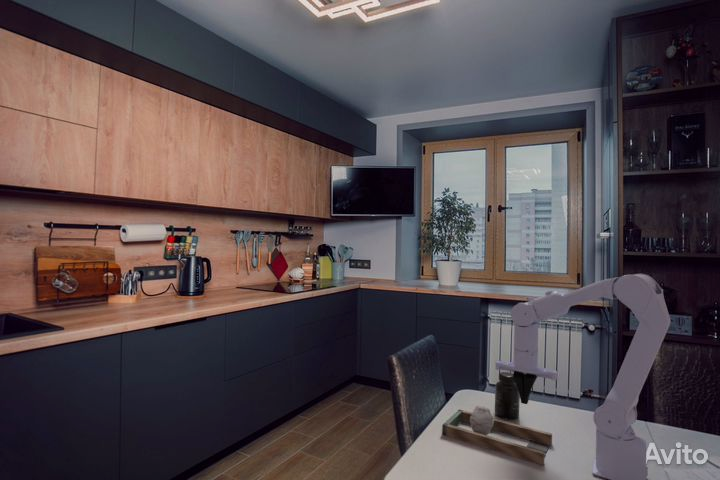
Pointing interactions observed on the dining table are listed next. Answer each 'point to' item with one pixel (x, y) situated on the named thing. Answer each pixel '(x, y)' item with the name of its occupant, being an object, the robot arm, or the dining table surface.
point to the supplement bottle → (507, 397)
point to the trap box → (530, 453)
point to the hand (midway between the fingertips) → (524, 402)
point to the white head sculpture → (481, 420)
